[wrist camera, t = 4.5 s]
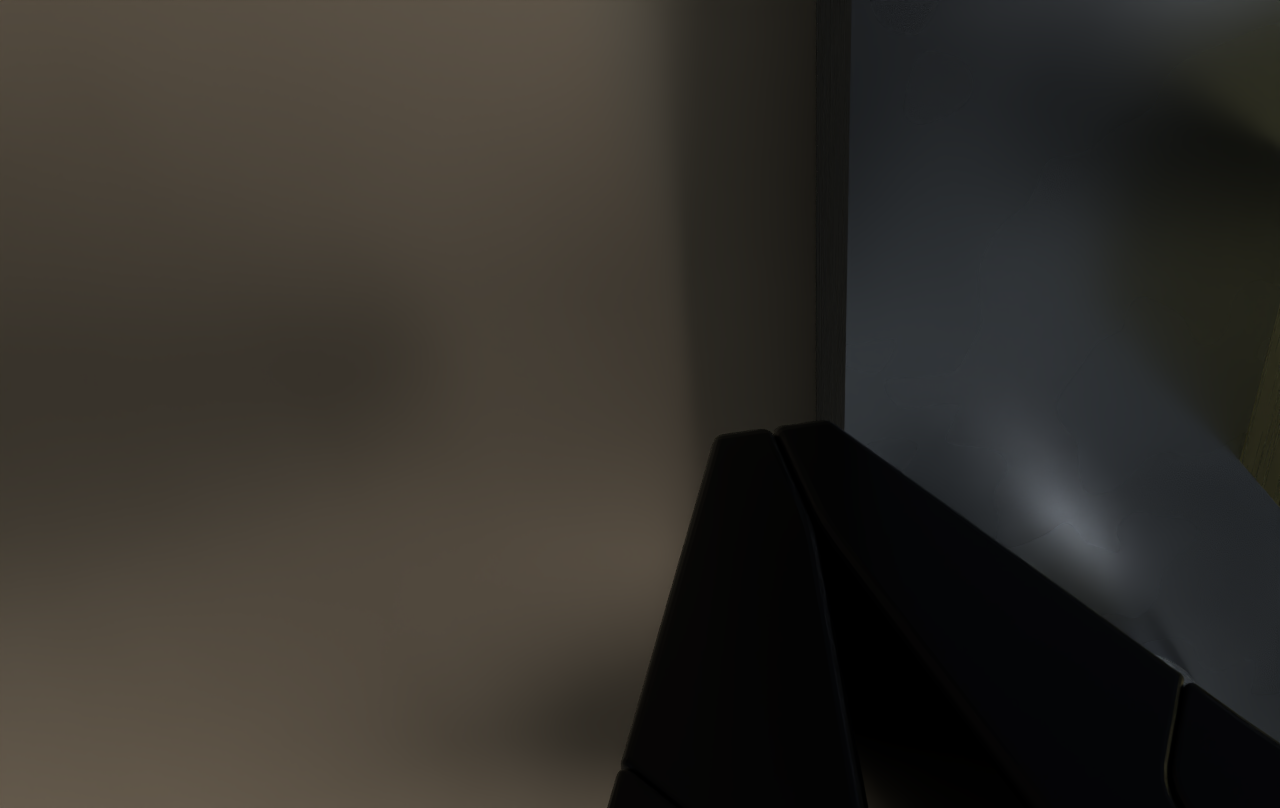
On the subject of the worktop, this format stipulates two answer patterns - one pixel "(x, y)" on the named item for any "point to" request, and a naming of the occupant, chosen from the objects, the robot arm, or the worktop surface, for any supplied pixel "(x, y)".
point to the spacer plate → (1067, 294)
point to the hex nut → (1266, 424)
